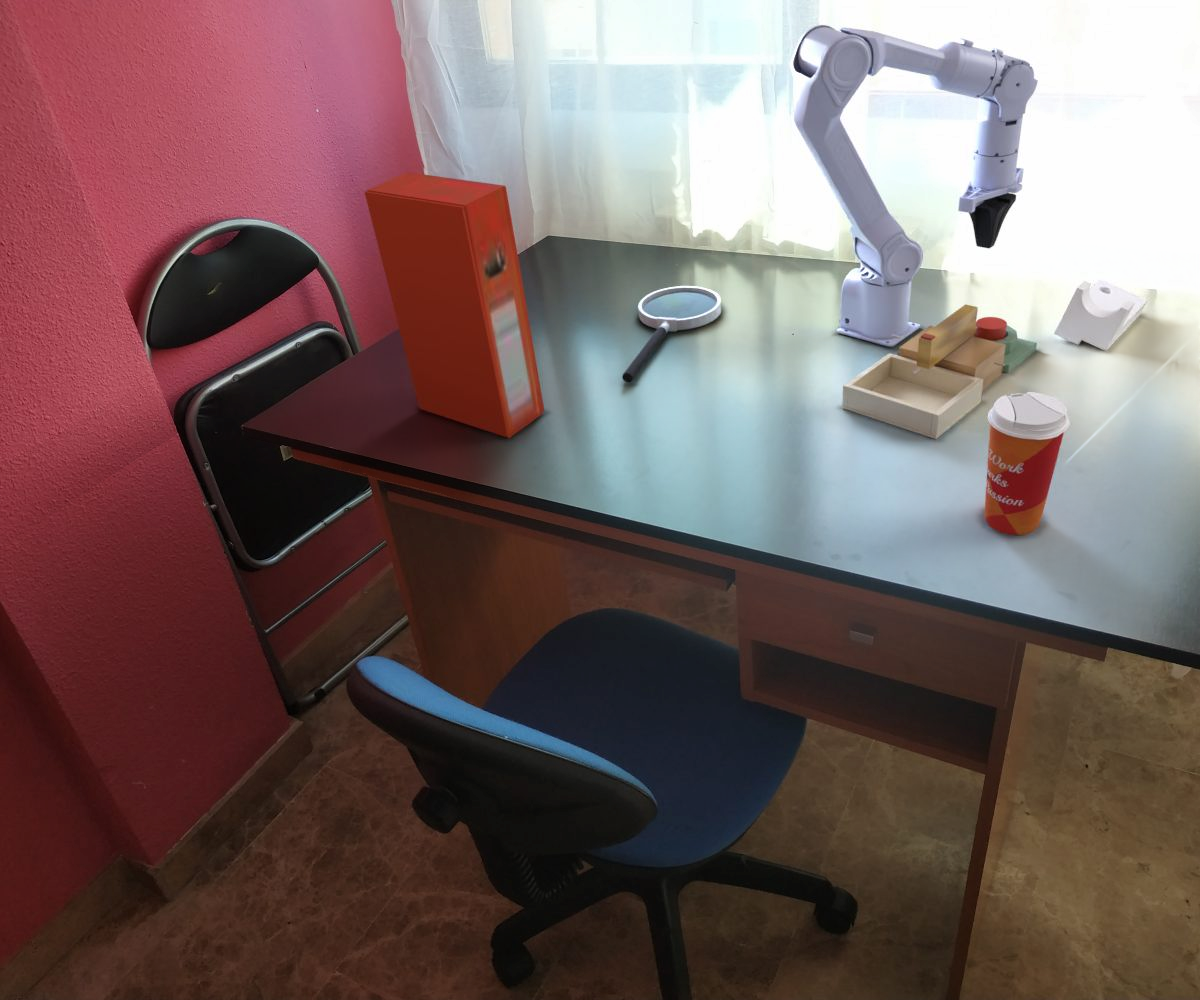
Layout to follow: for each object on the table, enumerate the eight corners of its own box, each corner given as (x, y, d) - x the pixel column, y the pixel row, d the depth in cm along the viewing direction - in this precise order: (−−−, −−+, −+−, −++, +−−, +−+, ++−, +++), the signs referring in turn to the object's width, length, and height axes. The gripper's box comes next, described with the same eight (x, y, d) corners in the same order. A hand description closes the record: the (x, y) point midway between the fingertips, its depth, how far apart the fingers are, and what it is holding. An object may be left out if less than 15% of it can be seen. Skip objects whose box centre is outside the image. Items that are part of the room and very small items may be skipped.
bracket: (1102, 356, 135) (1128, 310, 130) (1054, 333, 138) (1077, 287, 133) (1136, 320, 143) (1161, 275, 137) (1089, 299, 146) (1112, 254, 140)
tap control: (940, 354, 139) (942, 335, 137) (968, 333, 143) (970, 314, 141) (1008, 373, 133) (1011, 353, 131) (1035, 350, 137) (1039, 330, 135)
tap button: (969, 337, 137) (970, 324, 135) (983, 327, 139) (985, 314, 138) (996, 344, 134) (998, 331, 133) (1010, 333, 136) (1012, 320, 135)
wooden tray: (842, 408, 130) (842, 385, 128) (887, 375, 136) (889, 352, 134) (936, 439, 121) (938, 415, 119) (980, 402, 127) (983, 379, 125)
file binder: (506, 439, 133) (461, 206, 114) (418, 410, 142) (364, 190, 124) (544, 412, 138) (507, 184, 119) (457, 386, 147) (410, 171, 129)
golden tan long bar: (962, 331, 134) (965, 302, 132) (974, 334, 133) (978, 305, 131) (916, 366, 128) (918, 336, 125) (928, 369, 127) (931, 339, 124)
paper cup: (963, 504, 110) (976, 394, 102) (1030, 495, 110) (1049, 384, 102) (992, 546, 104) (1009, 433, 96) (1064, 536, 104) (1087, 422, 96)
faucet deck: (857, 388, 134) (858, 357, 131) (920, 343, 142) (923, 313, 140) (968, 423, 124) (972, 390, 121) (1029, 372, 132) (1034, 340, 130)
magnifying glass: (585, 380, 144) (584, 367, 143) (654, 294, 167) (653, 283, 166) (672, 388, 139) (671, 375, 138) (730, 298, 162) (730, 287, 161)
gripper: (998, 169, 128) (986, 268, 136) (1049, 139, 136) (1035, 234, 144) (948, 162, 133) (939, 258, 141) (1000, 133, 141) (989, 226, 148)
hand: (985, 245), depth 143 cm, fingers closed
